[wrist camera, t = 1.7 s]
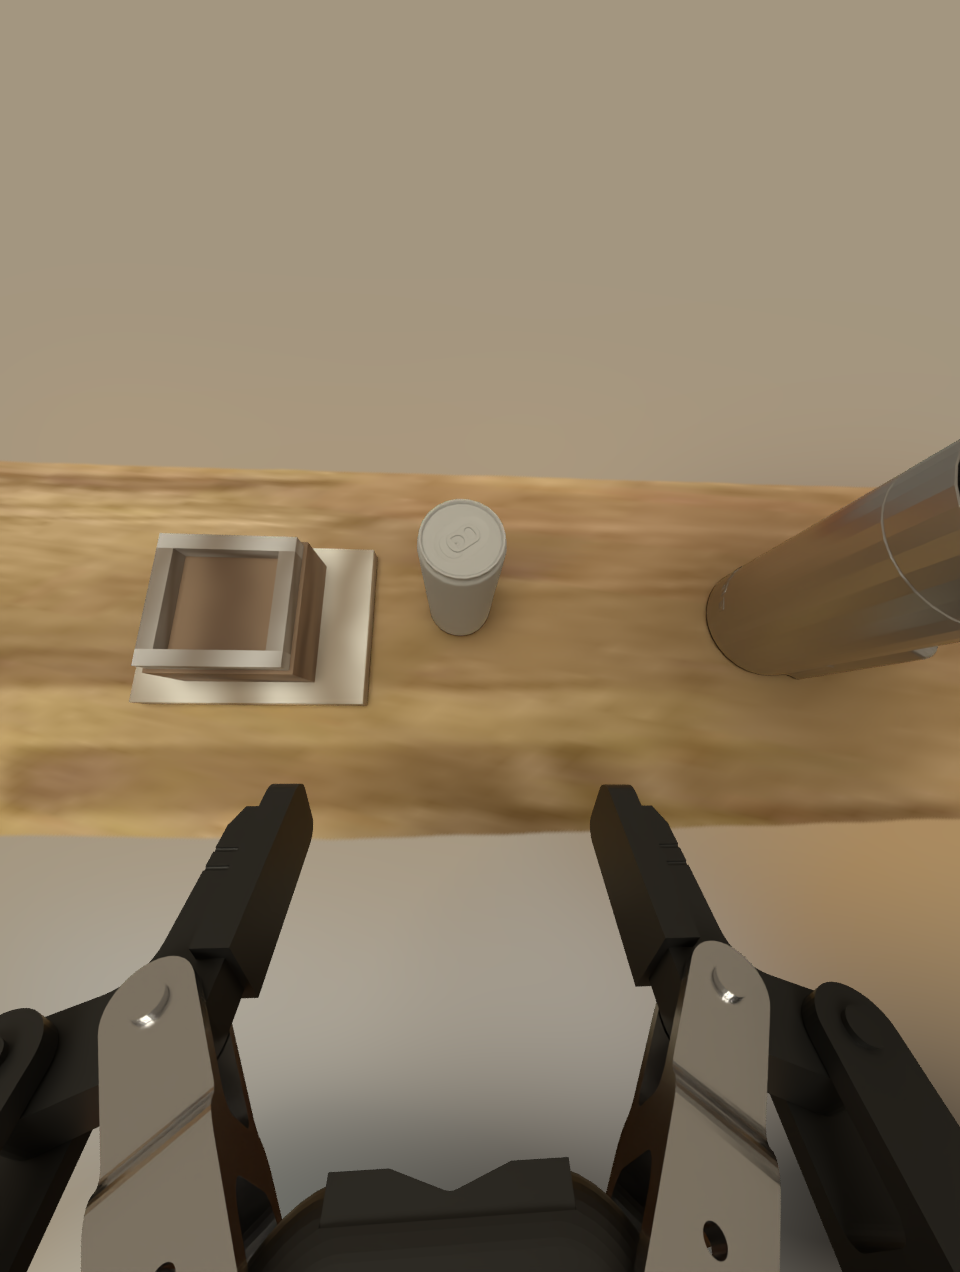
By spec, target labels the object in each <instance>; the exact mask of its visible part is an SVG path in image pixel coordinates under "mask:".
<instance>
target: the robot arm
mask: <svg viewBox="0 0 960 1272" xmlns="http://www.w3.org/2000/svg"><path fill="white" fill-rule="evenodd" d="M707 621H708V626H709V629H710V632H711V635H712V637H713V639H714V641H715V642H716V644H717V646H718V648H719V649H720V650H721V651H722V652H723V653H724V654H725V656H726V657H727V658H729V659H730V660H731V661H732V662H734V663H735V664H736V665H738V666H740V667H741V668H743V669H745V670H747V671H750V672H753V673H756V674H760V675H769V676H772V675H780V674H787V675H790V676H792V677H794V678H795V679H803V678H809V677H816V676H822V675H828V674H835V673H841V672H847V671H853V670H860V669H866V668H872V667H879V666H885V665H891V664H897V663H904V662H910V661H916V660H922V659H926V658H930V657H931V656H933V655H934V654H935V653H936V651H937V648H938V646H940V645H945V644H951V643H956V642H960V439H959V440H958V441H956V442H954V443H952V444H951V445H949V446H947V447H946V448H944V449H942V450H940V451H939V452H937V453H935V454H934V455H932V456H930V457H928V458H927V459H925V460H923V461H922V462H920V463H918V464H917V465H915V466H913V467H912V468H910V469H908V470H907V471H905V472H903V473H902V474H900V475H898V476H896V477H895V478H893V479H891V480H889V481H888V482H886V483H884V484H883V485H881V486H879V487H878V488H876V489H874V490H872V491H871V492H869V493H867V494H866V495H864V496H862V497H860V498H859V499H857V500H855V501H854V502H852V503H850V504H848V505H847V506H845V507H843V508H842V509H840V510H838V511H836V512H835V513H833V514H831V515H830V516H828V517H826V518H825V519H823V520H821V521H819V522H818V523H816V524H814V525H813V526H811V527H809V528H807V529H806V530H804V531H802V532H801V533H799V534H797V535H795V536H794V537H792V538H790V539H789V540H787V541H785V542H784V543H782V544H780V545H778V546H777V547H775V548H773V549H772V550H770V551H768V552H766V553H765V554H763V555H761V556H760V557H758V558H756V559H754V560H753V561H751V562H749V563H748V564H746V565H744V566H743V567H742V566H741V567H740V568H738V569H736V570H735V571H734V572H733V573H731V574H729V575H728V576H726V577H724V578H723V579H722V580H721V581H720V582H719V583H717V584H716V586H715V587H714V589H713V591H712V592H711V594H710V597H709V600H708V603H707ZM312 832H313V818H312V814H311V810H310V806H309V802H308V798H307V794H306V790H305V787H304V785H303V784H272V785H270V786H269V788H268V789H267V791H266V793H265V795H264V797H263V799H262V801H261V803H260V805H259V806H246V807H245V808H244V809H243V810H242V811H241V812H240V813H239V814H238V815H237V816H236V817H235V818H234V820H233V821H232V822H231V823H230V824H229V825H228V826H227V828H226V829H225V831H224V833H223V835H222V837H221V839H220V840H219V842H218V844H217V846H216V850H215V852H213V853H212V855H211V857H210V859H209V861H208V863H207V864H206V869H205V870H204V871H203V872H202V874H201V875H200V877H199V879H198V881H197V883H196V885H195V886H194V888H193V890H192V892H191V894H190V896H189V897H188V899H187V901H186V903H185V905H184V907H183V908H182V910H181V912H180V914H179V916H178V918H177V919H176V921H175V923H174V925H173V927H172V929H171V931H170V932H169V934H168V936H167V938H166V940H165V942H164V943H163V945H162V946H161V948H160V950H159V951H158V953H157V954H156V955H155V956H154V958H153V959H152V960H151V961H150V962H149V963H148V964H147V965H145V966H143V967H142V968H140V969H139V970H138V971H136V972H135V973H134V974H133V975H131V976H130V977H129V978H128V979H127V980H126V981H125V982H124V983H123V984H122V985H121V986H120V987H119V988H117V989H115V990H113V991H112V992H109V993H107V994H105V995H102V996H100V997H97V998H95V999H92V1000H89V1001H87V1002H84V1003H81V1004H79V1005H76V1006H73V1007H71V1008H68V1009H65V1010H63V1011H60V1012H57V1013H55V1014H52V1015H49V1016H47V1017H44V1016H43V1015H41V1014H40V1013H38V1012H37V1011H36V1010H33V1009H30V1008H21V1009H15V1010H11V1011H9V1012H6V1013H3V1014H1V1015H0V1272H27V1270H28V1268H29V1266H30V1264H31V1261H32V1259H33V1257H34V1255H35V1253H36V1250H37V1248H38V1246H39V1244H40V1242H41V1240H42V1238H43V1236H44V1233H45V1231H46V1229H47V1227H48V1225H49V1223H50V1220H51V1218H52V1216H53V1214H54V1212H55V1210H56V1207H57V1205H58V1203H59V1201H60V1199H61V1197H62V1194H63V1192H64V1190H65V1188H66V1186H67V1183H68V1181H69V1179H70V1177H71V1175H72V1173H73V1171H74V1169H75V1166H76V1164H77V1162H78V1160H79V1158H80V1156H81V1153H82V1151H83V1149H84V1147H85V1145H86V1143H87V1140H88V1138H89V1136H90V1134H91V1132H92V1130H93V1129H95V1128H97V1127H99V1126H100V1178H99V1183H98V1186H97V1189H96V1191H95V1192H94V1194H93V1195H92V1196H91V1198H90V1199H89V1201H88V1204H87V1207H86V1211H85V1215H84V1221H83V1227H82V1241H81V1272H780V1207H781V1185H780V1174H779V1168H778V1163H777V1160H776V1156H775V1155H774V1152H773V1151H772V1150H771V1149H770V1147H769V1145H768V1142H767V1138H766V1106H767V1093H769V1094H770V1095H771V1098H772V1101H773V1103H774V1105H775V1108H776V1110H777V1113H778V1115H779V1118H780V1120H781V1123H782V1125H783V1127H784V1130H785V1132H786V1135H787V1137H788V1140H789V1142H790V1145H791V1147H792V1149H793V1152H794V1154H795V1157H796V1159H797V1162H798V1164H799V1167H800V1169H801V1171H802V1174H803V1176H804V1179H805V1181H806V1184H807V1186H808V1189H809V1191H810V1194H811V1196H812V1199H813V1201H814V1203H815V1206H816V1208H817V1211H818V1213H819V1216H820V1218H821V1221H822V1223H823V1226H824V1228H825V1230H826V1233H827V1235H828V1238H829V1240H830V1243H831V1245H832V1248H833V1250H834V1252H835V1255H836V1257H837V1260H838V1262H839V1265H840V1267H841V1270H842V1272H960V1127H959V1125H958V1124H957V1122H956V1121H955V1119H954V1117H953V1116H952V1114H951V1113H950V1111H949V1110H948V1108H947V1107H946V1105H945V1104H944V1102H943V1101H942V1099H941V1098H940V1096H939V1095H938V1093H937V1091H936V1090H935V1088H934V1087H933V1085H932V1084H931V1082H930V1081H929V1079H928V1078H927V1076H926V1074H925V1073H924V1072H923V1070H922V1068H921V1067H920V1065H919V1064H918V1062H917V1061H916V1059H915V1058H914V1056H913V1055H912V1053H911V1051H910V1050H909V1048H908V1047H907V1045H906V1044H905V1042H904V1041H903V1039H902V1038H901V1036H900V1035H899V1033H898V1032H897V1030H896V1029H895V1027H894V1026H893V1024H892V1023H891V1022H890V1020H889V1019H888V1018H887V1017H886V1016H885V1014H884V1013H883V1012H882V1011H881V1010H880V1009H879V1008H878V1007H877V1006H876V1005H875V1004H874V1003H872V1002H871V1001H870V1000H869V999H868V998H866V997H865V996H864V995H862V994H861V993H859V992H858V991H856V990H854V989H853V988H851V987H849V986H846V985H844V984H841V983H837V982H826V983H823V984H821V985H820V986H819V987H818V988H817V989H815V990H811V989H808V988H805V987H802V986H799V985H797V984H794V983H791V982H788V981H785V980H782V979H780V978H777V977H774V976H771V975H769V974H766V973H764V972H762V971H760V970H758V969H756V968H755V967H754V966H753V965H752V964H751V963H750V962H749V961H748V960H747V959H746V958H745V957H744V956H743V955H742V954H741V953H739V952H738V951H737V950H735V949H734V948H732V946H730V944H729V943H728V941H727V940H726V938H725V937H724V936H723V934H722V932H721V930H720V928H719V926H718V924H717V922H716V920H715V918H714V916H713V914H712V912H711V910H710V908H709V906H708V904H707V902H706V900H705V898H704V896H703V894H702V891H701V889H700V887H699V885H698V883H697V881H696V879H695V877H694V875H693V873H692V871H691V869H690V867H689V865H687V864H686V859H685V857H684V855H683V853H682V851H681V849H680V848H679V847H678V843H677V841H676V839H675V837H674V835H673V833H672V831H671V829H670V827H669V824H668V823H667V822H666V821H665V820H664V818H663V817H662V816H661V815H660V814H659V813H658V812H657V811H656V810H655V809H654V808H653V806H641V803H640V801H639V799H638V797H637V794H636V792H635V790H634V789H633V787H632V786H631V785H602V786H601V787H600V790H599V793H598V796H597V799H596V803H595V806H594V809H593V812H592V815H591V820H590V832H591V838H592V843H593V846H594V849H595V853H596V856H597V859H598V863H599V866H600V869H601V873H602V876H603V879H604V883H605V886H606V889H607V893H608V896H609V899H610V903H611V906H612V909H613V913H614V915H615V919H616V923H617V926H618V929H619V933H620V935H621V939H622V942H623V945H624V949H625V953H626V956H627V959H628V963H629V966H630V969H631V972H632V976H633V979H634V982H635V986H652V989H653V993H654V995H655V999H656V1002H657V1003H656V1006H655V1009H654V1013H653V1018H652V1022H651V1026H650V1031H649V1035H648V1040H647V1043H646V1048H645V1052H644V1056H643V1061H642V1065H641V1069H640V1074H639V1078H638V1082H637V1087H636V1091H635V1095H634V1099H633V1103H632V1106H631V1109H630V1112H629V1115H628V1117H627V1120H626V1122H625V1125H624V1127H623V1130H622V1133H621V1136H620V1139H619V1142H618V1146H617V1150H616V1154H615V1158H614V1162H613V1166H612V1170H611V1174H610V1178H609V1182H608V1187H607V1191H606V1193H605V1192H603V1191H602V1190H601V1189H600V1188H598V1187H597V1186H596V1185H595V1184H593V1183H592V1182H591V1181H589V1180H587V1179H585V1178H584V1177H582V1176H581V1175H579V1174H577V1173H574V1172H572V1171H570V1165H569V1158H568V1157H563V1158H547V1159H533V1160H517V1161H510V1162H508V1163H506V1164H504V1165H502V1166H501V1167H499V1168H497V1169H495V1170H493V1171H491V1172H489V1173H487V1174H485V1175H483V1176H481V1177H479V1178H478V1179H476V1180H474V1181H472V1182H470V1183H468V1184H466V1185H464V1186H462V1187H461V1188H458V1189H456V1190H454V1191H446V1190H442V1189H440V1188H437V1187H435V1186H432V1185H430V1184H427V1183H425V1182H422V1181H419V1180H417V1179H414V1178H412V1177H409V1176H407V1175H404V1174H402V1173H399V1172H396V1171H394V1170H391V1169H376V1170H361V1171H345V1172H329V1173H328V1178H327V1184H326V1187H324V1188H322V1189H320V1190H319V1191H317V1192H315V1193H314V1194H312V1195H311V1196H310V1197H308V1198H307V1199H305V1200H304V1201H302V1202H301V1203H300V1204H299V1205H298V1206H296V1207H295V1208H294V1209H293V1210H292V1211H291V1212H290V1213H289V1214H288V1215H286V1216H285V1217H284V1218H283V1219H282V1216H281V1213H280V1208H279V1203H278V1199H277V1195H276V1191H275V1186H274V1182H273V1178H272V1173H271V1170H270V1166H269V1163H268V1159H267V1156H266V1153H265V1150H264V1147H263V1144H262V1142H261V1140H260V1137H259V1135H258V1132H257V1129H256V1125H255V1122H254V1118H253V1113H252V1109H251V1105H250V1101H249V1096H248V1092H247V1087H246V1082H245V1078H244V1074H243V1069H242V1065H241V1060H240V1056H239V1052H238V1047H237V1043H236V1038H235V1035H234V1030H233V1025H232V1022H233V1019H234V1016H235V1014H236V1011H237V1008H238V1005H239V1003H240V999H241V998H258V997H259V994H260V991H261V988H262V985H263V982H264V979H265V976H266V973H267V970H268V967H269V964H270V961H271V958H272V955H273V952H274V949H275V946H276V943H277V940H278V938H279V934H280V932H281V929H282V926H283V922H284V919H285V916H286V914H287V911H288V908H289V904H290V902H291V899H292V896H293V893H294V890H295V887H296V884H297V881H298V878H299V875H300V872H301V869H302V866H303V863H304V860H305V857H306V854H307V851H308V848H309V845H310V842H311V838H312ZM709 1247H711V1249H712V1255H711V1254H710V1253H709V1251H708V1249H707V1248H709Z"/></svg>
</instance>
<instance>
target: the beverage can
mask: <svg viewBox="0 0 960 1272" xmlns="http://www.w3.org/2000/svg"><path fill="white" fill-rule="evenodd" d="M417 551H418V556H419V560H420V565H421V570H422V574H423V579H424V584H425V588H426V593H427V598H428V602H429V607H430V612H431V616H432V618H433V620H434V622H435V623H436V624H437V625H438V626H439V627H440V628H441V629H442V630H444V631H445V632H447V633H449V634H453V635H468V634H472V633H474V632H475V631H477V630H479V629H480V628H481V626H482V625H483V624H484V623H485V621H486V619H487V617H488V614H489V611H490V608H491V604H492V600H493V596H494V593H495V589H496V586H497V583H498V580H499V576H500V573H501V569H502V566H503V562H504V559H505V555H506V534H505V531H504V527H503V524H502V523H501V521H500V519H499V518H498V516H497V515H496V514H495V513H494V512H493V511H492V510H491V509H490V508H489V507H487V506H485V505H483V504H481V503H479V502H476V501H472V500H469V499H455V500H450V501H446V502H444V503H442V504H439V505H437V506H436V507H435V508H433V509H432V510H431V511H430V512H429V513H428V514H427V515H426V517H425V518H424V520H423V521H422V524H421V526H420V529H419V535H418V540H417Z"/></svg>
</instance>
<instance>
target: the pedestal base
mask: <svg viewBox="0 0 960 1272" xmlns="http://www.w3.org/2000/svg"><path fill="white" fill-rule="evenodd" d="M376 572H377V556H376V554H375V552H374V550H356V549H320V548H312V547H311V546H310V544H309V543H308V542H300V540H299V539H298V538H297V537H275V536H241V535H207V534H173V533H160V534H159V539H158V544H157V548H156V553H155V558H154V562H153V567H152V572H151V576H150V581H149V585H148V590H147V595H146V599H145V604H144V609H143V613H142V618H141V623H140V627H139V632H138V636H137V641H136V646H135V650H134V655H133V660H132V664H131V666H136V671H135V676H134V680H133V685H132V690H131V694H130V699H129V702H132V703H142V704H246V705H367V699H368V685H369V671H370V657H371V643H372V628H373V614H374V600H375V586H376Z"/></svg>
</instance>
